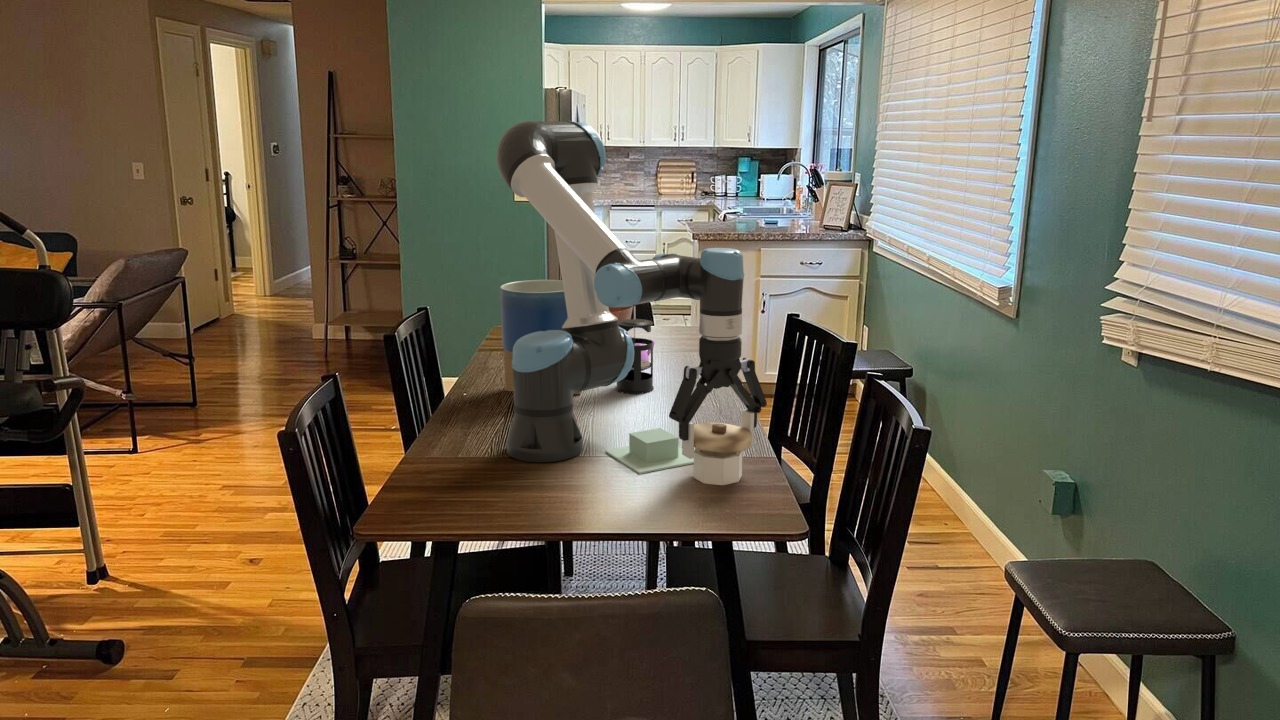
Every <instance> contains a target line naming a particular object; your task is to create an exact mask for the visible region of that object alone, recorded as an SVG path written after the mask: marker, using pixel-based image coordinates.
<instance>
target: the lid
mask: <svg viewBox="0 0 1280 720" xmlns="http://www.w3.org/2000/svg"><path fill="white" fill-rule="evenodd" d="M751 441H752V433H751V432H750V431H749V430H747V429H745V428H742V426H739V425H735V424H730V423H724V422H701V423H698V422H697V423H694V449H696V448H698V449H701V450H706V451H712V452H740V451H742V452H744V451H746V450H749V449H750V448H752V447H751Z"/></svg>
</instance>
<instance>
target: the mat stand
mask: <svg viewBox="0 0 1280 720" xmlns="http://www.w3.org/2000/svg"><path fill="white" fill-rule="evenodd" d="M628 434H629V435H628V437H629V440H628V442H629V443H628V446H622V447H617V448H611V449H606V450H605V451H604V452H605V453H606V454H607V455H609V456H611V457H612V458H614V459H615V460H617V461H618V462H620V463H621V464H623V465H625V466H626V467H628V468H629V469H631V470H632V471H634V472H635V473H638V474H639V475H642V474H647V472H648V473H652V471H653V472H658V471H661V470H667V469H671V468H678V467H683V466H687V465H692V464H693V465H694V458H692V459H689V458H688V457H686V456H684V455H682V447H681V446H679V436H676V435H674V434H672V433H671V432H668V431H667V430H665V429H663V428H661V427H658V428H653V429H647V430H641V431H634V432H629V433H628Z"/></svg>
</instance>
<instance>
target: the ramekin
mask: <svg viewBox="0 0 1280 720" xmlns="http://www.w3.org/2000/svg"><path fill="white" fill-rule="evenodd" d="M692 474H693V475H692V477H693V478H694V479H695V480H696V481H699V482H701V483H703V484H707V485H715V486H716V485H717V486H726V485H731V484H735V483H739V482H740V480H741V478H742V475H743V451H740V452H712V451H706V450H701V449H698V448H694V463H693V473H692Z"/></svg>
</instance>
